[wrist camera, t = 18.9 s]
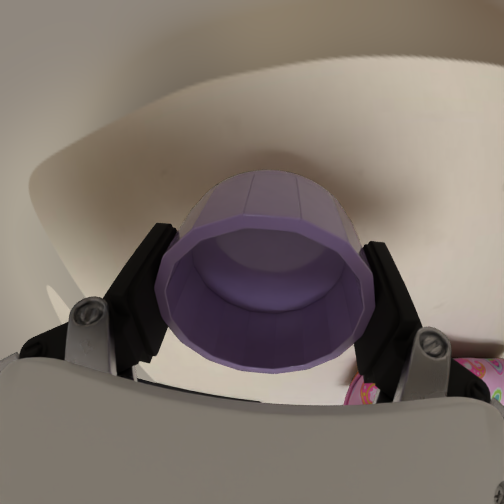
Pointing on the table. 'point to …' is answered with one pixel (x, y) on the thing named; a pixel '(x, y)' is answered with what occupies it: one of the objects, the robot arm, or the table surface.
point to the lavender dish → (266, 275)
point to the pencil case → (489, 370)
